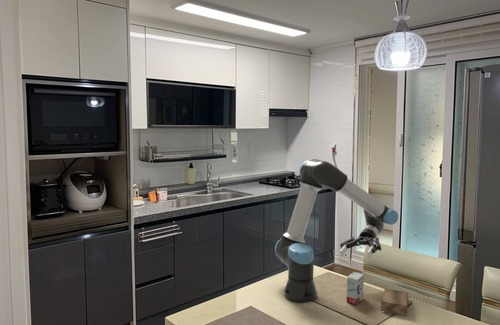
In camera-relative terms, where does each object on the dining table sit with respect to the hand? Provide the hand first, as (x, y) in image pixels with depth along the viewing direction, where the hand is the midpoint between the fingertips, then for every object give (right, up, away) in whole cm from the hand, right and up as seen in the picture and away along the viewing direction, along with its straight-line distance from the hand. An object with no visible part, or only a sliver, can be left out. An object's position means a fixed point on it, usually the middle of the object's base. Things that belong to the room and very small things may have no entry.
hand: (354, 254), depth 180 cm
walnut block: (+15, -21, -11) cm, 28 cm away
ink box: (-1, -20, -5) cm, 21 cm away
